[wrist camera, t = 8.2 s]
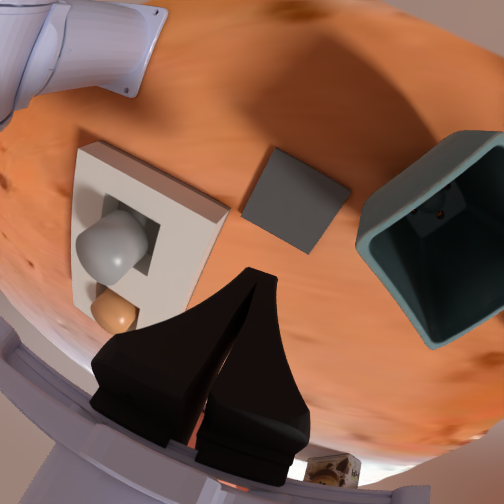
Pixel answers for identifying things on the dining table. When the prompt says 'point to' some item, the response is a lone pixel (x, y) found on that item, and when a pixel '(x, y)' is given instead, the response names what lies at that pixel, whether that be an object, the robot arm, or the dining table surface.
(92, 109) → the dining table surface
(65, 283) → the dining table surface
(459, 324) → the flower pot
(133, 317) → the tan button
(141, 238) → the grey button
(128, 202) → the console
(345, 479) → the coffee box
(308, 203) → the mat
